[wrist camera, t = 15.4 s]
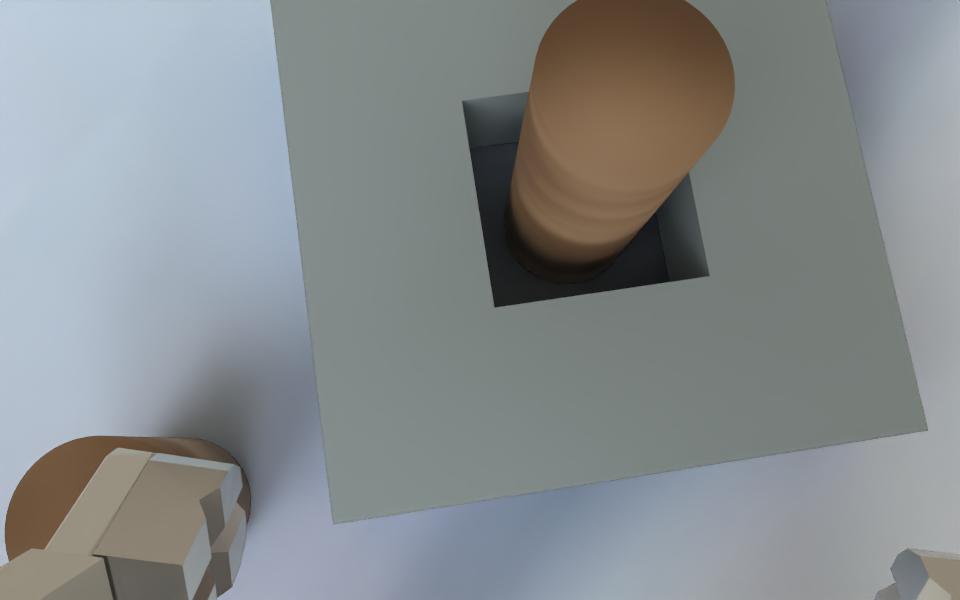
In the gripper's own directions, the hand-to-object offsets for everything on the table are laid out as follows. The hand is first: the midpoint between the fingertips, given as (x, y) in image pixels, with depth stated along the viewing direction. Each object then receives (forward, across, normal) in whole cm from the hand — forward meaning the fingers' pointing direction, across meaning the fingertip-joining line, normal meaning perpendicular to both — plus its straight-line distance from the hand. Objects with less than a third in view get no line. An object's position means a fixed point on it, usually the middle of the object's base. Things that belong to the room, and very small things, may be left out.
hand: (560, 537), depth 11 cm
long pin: (+17, -1, +5) cm, 18 cm away
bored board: (+17, -1, +5) cm, 18 cm away
